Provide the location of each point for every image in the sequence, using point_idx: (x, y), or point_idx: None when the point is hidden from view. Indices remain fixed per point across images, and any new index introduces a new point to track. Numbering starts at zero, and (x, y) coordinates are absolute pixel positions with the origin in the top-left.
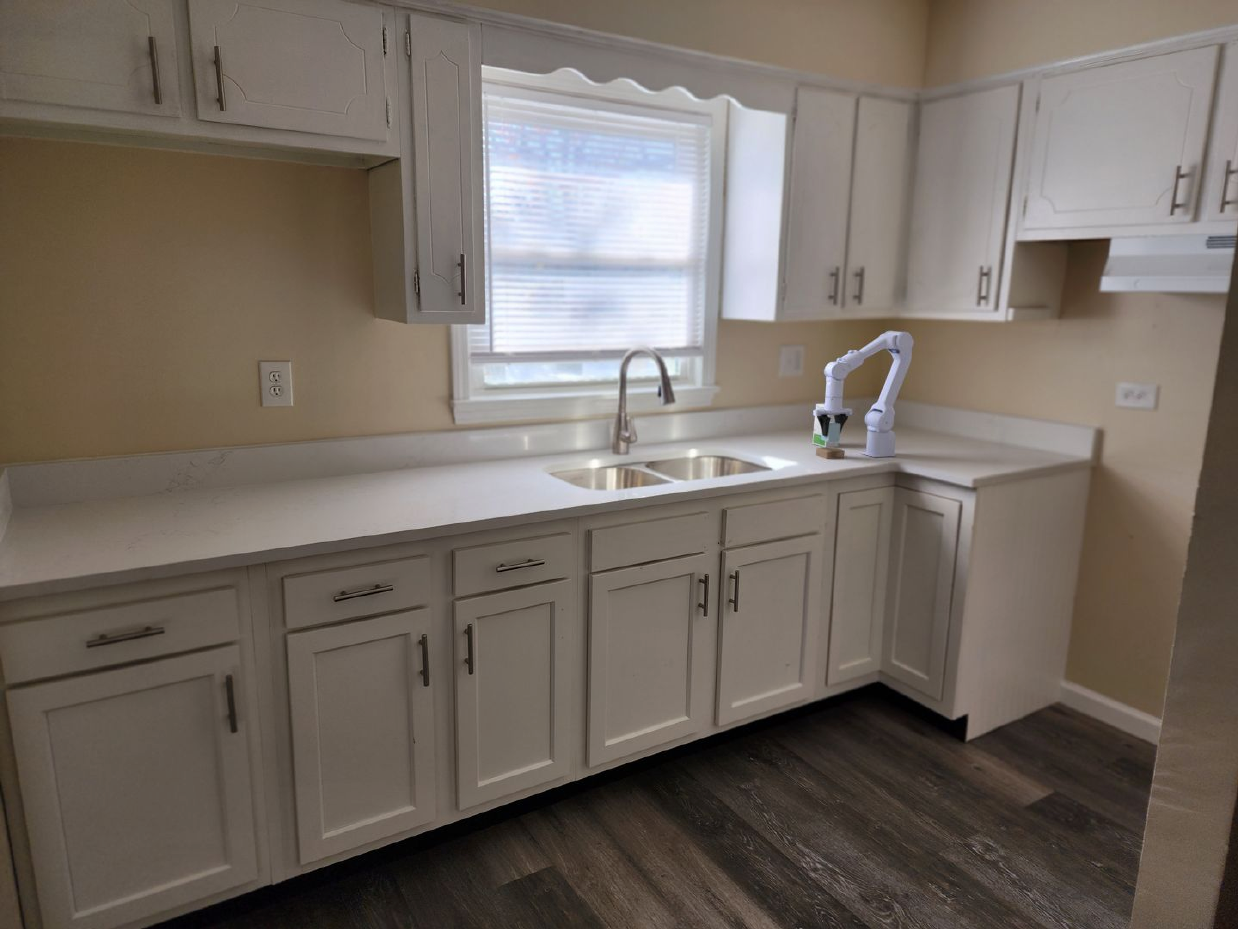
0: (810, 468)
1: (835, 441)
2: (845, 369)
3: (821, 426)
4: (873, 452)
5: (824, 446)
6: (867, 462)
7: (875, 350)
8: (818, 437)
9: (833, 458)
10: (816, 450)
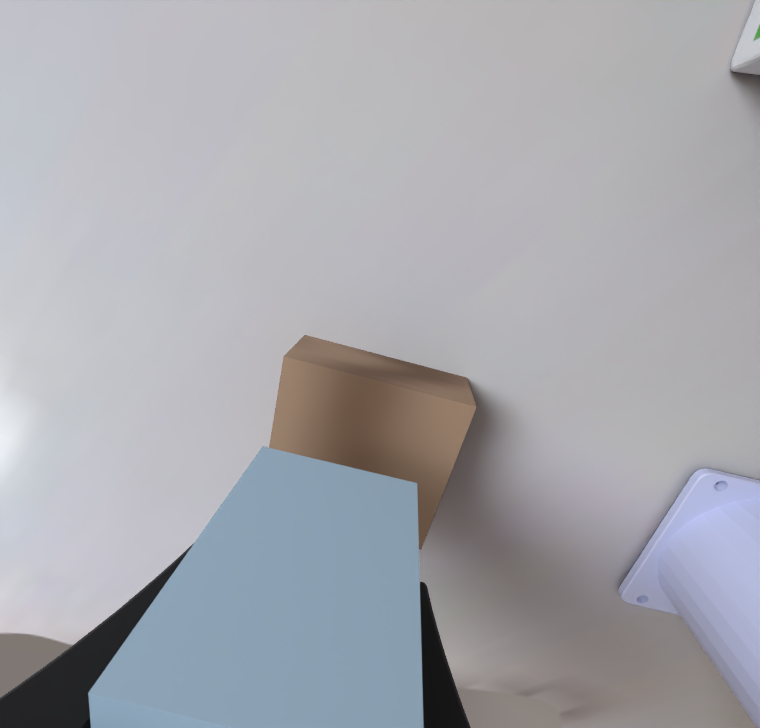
0: (28, 574)
1: None
2: None
3: (82, 658)
4: (670, 597)
5: (746, 40)
6: (441, 634)
7: None
8: None
9: None
10: (291, 351)
